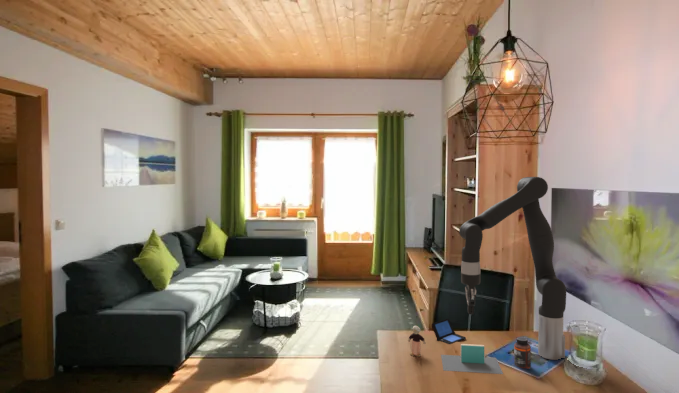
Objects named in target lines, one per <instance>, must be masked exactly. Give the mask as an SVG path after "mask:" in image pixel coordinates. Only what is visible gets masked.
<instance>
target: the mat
mask: <svg viewBox="0 0 679 393" xmlns="http://www.w3.org/2000/svg"><path fill="white" fill-rule="evenodd" d="M440 357H441V364H442V370H443V372H444V371H445V372H446V371H447V372H462V373H463V372H464V373H477V374H491V375H492V374H493V375H494V374H495V375H504V372H503V370H502V368H501V366H500V364H499V362H498V359H497V357H491V356H489V357H487V356H484V364H482V363H465V362H461V355H455V354H454V355H452V354H440Z"/></svg>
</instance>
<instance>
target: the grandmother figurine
mask: <svg viewBox="0 0 679 393" xmlns="http://www.w3.org/2000/svg"><path fill="white" fill-rule="evenodd" d="M412 331H413V332H412V333H411V334H410V336H408V338H407V341H408V343H409V342H411V352H410V353H409V356H412V357H414V356H415V357H418V358H419V357H421V351H422V350H421V349H422V348H421V347H422V346H421V342H422V343H423V344H422V345H426V340H425V338H424V337H423V336H422V335H421V334H419V333H420V332H421V328H420V327H419V326H418V325H413V327H412ZM411 340H412V341H411Z"/></svg>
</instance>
